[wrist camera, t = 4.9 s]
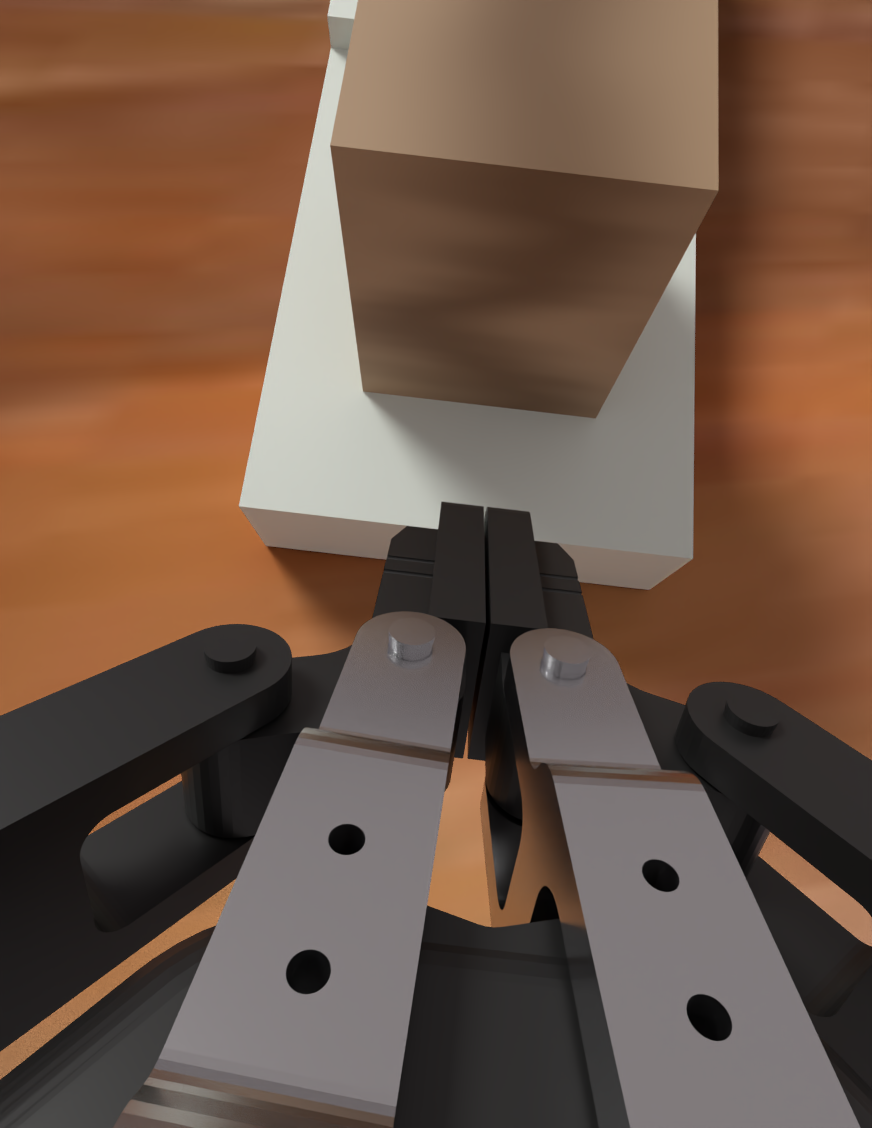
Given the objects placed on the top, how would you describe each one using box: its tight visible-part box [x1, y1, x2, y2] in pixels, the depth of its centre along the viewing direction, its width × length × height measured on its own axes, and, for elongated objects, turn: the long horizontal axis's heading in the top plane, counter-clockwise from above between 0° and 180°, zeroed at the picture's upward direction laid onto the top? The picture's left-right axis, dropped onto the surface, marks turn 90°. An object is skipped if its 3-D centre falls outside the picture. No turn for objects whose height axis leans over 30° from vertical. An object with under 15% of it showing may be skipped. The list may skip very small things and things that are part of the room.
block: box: [330, 0, 719, 418], centre depth 16 cm, size 6×6×8 cm
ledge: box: [239, 48, 696, 590], centre depth 22 cm, size 12×16×4 cm
